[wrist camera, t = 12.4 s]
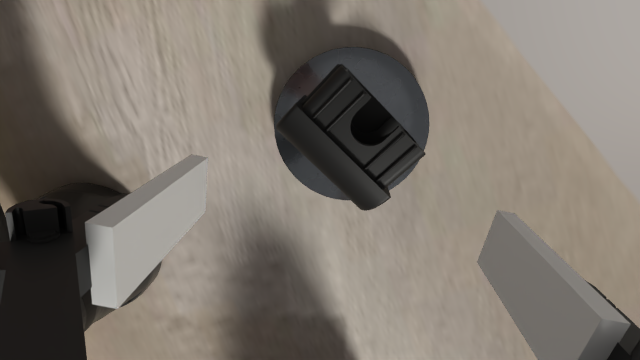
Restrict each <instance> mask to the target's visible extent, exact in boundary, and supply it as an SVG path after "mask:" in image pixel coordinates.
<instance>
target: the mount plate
mask: <svg viewBox="0 0 640 360" xmlns="http://www.w3.org/2000/svg"><path fill="white" fill-rule="evenodd" d="M337 64H343V65H344V66H345V67H346V68H348V70H349V71H350V72H351V73H352V74H353V75H354V76H355V77H356V78H357V79H358V80H359V81H360V82H361V83H362V84H363V85H364V86H365V87H366V88H367V89H368V91H369V92H370V93H371V94H372V95H373V96H374V97H375V98H376V99H377V100H378V101H379V102H380V103H381V104H382V105H383V106H384V107H385V108H386V109H387V111H388V112H389V113H390V114H391V115H392V116H393V117H394V118H395V119H396V120H397V121H398V122H399V123H400V124H401V125H402V126H403V127H404V128H405V129H406V131H407V132H408V133H409V134H410V135H411V136H412V137H413V139H414V140H415V141H416V142H417V143H418V144H419V147H420V148H421V149H422V150H423V151H424V149H425V146H426V143H427V138H428V133H429V112H428V107H427V103H426V100H425V97H424V94H423V92H422V90H421V88H420V86H419V84H418V82H417V81H416V80H415V78H414V77H413V75H412V74H411V73H410V72H409V71H408V70H407V69H406V68H405V67H404V66H403V65H402V64H400V63H399V62H398V61H396V60H395V59H393V58H391V57H390V56H388V55H386V54H383V53H381V52H378V51H375V50H371V49H367V48H359V47H345V48H339V49H334V50H331V51H328V52H324V53H322V54H320V55H318V56H316V57H314V58H312V59H311V60H309V61H308V62H306V63H305V64H304V65H303V66H301V67H300V68H299V69H298V70H297V71H296V72H295V73H294V74H293V75H292V77H291V78H290V79H289V81H288V82H287V84H286V85H285V87H284V89H283V91H282V93H281V95H280V97H279V100H278V103H277V107H276V112H275V121H274V129H275V138H276V143H277V147H278V149H279V152H280V155H281V157H282V159H283V161H284V163H285V164H286V166H287V167H288V169H289V170H290V171H291V173H292V174H293V175H294V176H295V177H296V178H297V179H298V180H299V181H300V182H301V183H302V184H304V185H305V186H307V187H308V188H309V189H311V190H313V191H315V192H317V193H319V194H321V195H324V196H326V197H330V198H334V199H340V200H350V199H349V198H348V197H347V196H346V195H345V194H344V193H343V192H342V191H341V190H340V189H339V188H338V187H337V186H336V185H334V184H333V183H332V182H331V181H330V180H329V179H328V178H327V177H326V176H325V175H324V174H323V173H322V172H321V171H320V170H319V169H318V168H317V167H316V166H314V165H313V164H312V163H311V162H310V161H309V160H308V159H307V158H306V157H305V156H304V155H303V154H302V153H301V152H300V151H299V150H298V149H297V148H296V147H294V146H293V145H292V144H291V143H290V142H289V141H288V140H287V139H286V138H285V137H284V136H283V135H282V134H281V133H280V132H279V131H278V130H277V129H276V124H277V123H278V122H279V121H280V120H281V119H282V117H283V116H284V115H285V114H286V113H287V112H288V111H289V110H290V109H291V108H292V107H293V106H294V104H295V103H296V102H298V101H299V100H300V99H301V98H302V97H303V96H304V95H306V96H308V95H309V94H310V93H311V92H312V91H313V90H314V88H315V87H316V86H317V85H318V84H319V83H320V82H321V81H322V80H323V79H324V78H325V77H326V76H327V75H328V74H329V73H330V71H331V70H332V69H333V68H334V67H335V66H336V65H337ZM419 160H420V159H419ZM419 160H418V161H417V162H416V163H415V164H414V165H412V166H411V167H410V168H409V169H408V170H407V171H405V172H404V173H403V174H402V175H401V176H400V177H398V178H397V179H396V180H395V181H394V182H393V183H391V184H390V185H389V186H388V189H389V190H390V189H392V188H393V187H395V186H396V185H398V184H399V183H400V182H402V181H403V180H404V179H405V178H406V177H407V176H408V175H409V174H410V173H411V172H412V170H413V169H414V168H415V166H416V165H417V163H418V162H419Z"/></svg>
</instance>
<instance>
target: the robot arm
mask: <svg viewBox="0 0 640 360" xmlns="http://www.w3.org/2000/svg"><path fill="white" fill-rule="evenodd" d="M207 169H208V157H202V156H197V155H190V156H188V157H187V158H185V159H184V160H182V161H180V162H179V163H177V164H176V165H174V166H173V167H171V168H169V169H168V170H166V171H165V172H163V173H162V174H160V175H158V176H157V177H155V178H154V179H152V180H151V181H149V182H147V183H146V184H144V185H143V186H141V187H140V188H138V189H137V190H135V191H133V192H132V193H130V194H129V195H128V194H119V193H117V192H115V191H113V190H111V189H108V188H106V187H103V186H99V185H94V184H87V183H76V184H69V185H65V186H62V187H60V188H58V189H55V190H53V191H51V192H49V193H47V194H45V195H43V196H41V197H39V198H38V199H36V200H29V201H25V202H22V203H18V204H16V205H14V206H12V207H10V208H9V209H8V210H7V211H6V213H5V215H6V217H5V215H4V212H3V210H2V207H1V205H0V360H87V356H86V346H85V337H84V332H85V331H86V330H87V329H88V328H89V326H90V325H91V324H93V323H94V322H96V321H98V320H99V319H101V318H103V317H104V316H106V315H107V314H109V313H110V312H112V311H114V310H115V309H118V308H119V307H122V306H124V305H127V304H128V303H130V302H132V301H134V300H135V299H136V298H138V297H139V296H140V295H141V294H142V293H143V292H144V291H145V290H146V289H147V288H148V286H149V285H150V284H151V283H152V282H153V281H154V279H155V278H156V276H157V275H158V272H159V270H160V267H161V261H162V259H163V258H164V257H165V256H166V255H167V254H168V253H169V252H170V250H171V249H172V248H173V247H174V246H175V245H176V244H177V243H178V242H179V241H180V239H181V238H182V237H183V236H184V235H185V234H186V233H187V232H188V231H189V230H190V228H191V227H192V226H193V225H194V224H195V223H196V222H197V221H198V220H199V218H200V217H201V216H202V215H203V214H204V213H205V210H206V190H207ZM477 263H478V264H479V266H480V268H481V269H482V271H483V272H484V274H485V276H486V277H487V279H488V280H489V282H490V284H491V285H492V287H493V288H494V290H495V292H496V293H497V295H498V296H499V298H500V300H501V301H502V303H503V304H504V306H505V308H506V309H507V311H508V312H509V314H510V316H511V317H512V319H513V320H514V322H515V324H516V325H517V327H518V328H519V330H520V332H521V333H522V335H523V336H524V338H525V340H526V341H527V343H528V344H529V346H530V348H531V349H532V351H533V352H534V354H535V356H536V357H537V359H538V360H640V328H638V327H637V326H636V325H635V324H634V323H633V322H632V321H631V320H630V319H629V318H628V317H627V316H626V315H625V314H624V313H622V312H621V311H620V310H619V309H618V308H616V306H615V305H614V304H613V303H612V302H611V301H610V300H608V299H606V297H605V296H604V295H603V294H602V293H601V292H600V291H599V290H598V289H597V288H596V287H595V286H593V285H592V284H590V283H589V282H587V281H586V280H584V279H583V278H582V277H581V276H580V275H579V274H578V273H577V272H576V271H575V270H574V269H572V268H571V267H570V266H569V265H568V264H567V263H566V262H565V261H564V260H563V259H562V258H561V257H560V256H559V255H558V254H557V253H556V252H555V251H554V250H553V249H551V248H550V247H549V246H548V245H547V244H546V243H545V242H544V241H543V240H542V239H541V238H540V237H539V236H538V235H537V234H536V233H535V232H534V231H533V230H531V229H530V228H529V227H528V226H527V225H526V224H525V223H524V222H523V221H522V220H521V219H520V218H519V217H518V216H517V215H516V214H515V213H510V212H505V211H499V210H497V212H496V215H495V217H494V220H493V222H492V225H491V228H490V230H489V233H488V235H487V238H486V240H485V243H484V246H483V248H482V251H481V253H480V256H479V258H478V261H477Z"/></svg>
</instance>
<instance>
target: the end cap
mask: <svg viewBox="0 0 640 360" xmlns="http://www.w3.org/2000/svg"><path fill="white" fill-rule="evenodd" d="M276 129H277V130H278V131H279V132H280V133H281V134H282V135H283V136H284V137H285V138H286V139H287V140H288V141H289V142H290V143H291V144H292V145H293V146H294V147H296V148H297V149H298V150H299V151H300V152H301V153H302V154H303V155H304V156H305V157H306V158H307V159H308V160H309V161H310V162H311V163H312V164H313V165H314V166H316V167H317V168H318V169H319V170H320V171H321V172H322V173H323V174H324V175H325V176H326V177H327V178H328V179H329V180H330V181H331V182H332V183H333V184H334V185H336V186H337V187H338V188H339V189H340V190H341V191H342V192H343V193H344V194H345V195H346V196H347V197H348V198H349V199H350V200H351V201H352V202H353V203H354V204H355V205H357V206H358V207H359V208H360V209H361V210H371V209H374V208H376V207H378V206H380V205H381V204H383V203H384V202H386V201H387V200H388V199H389V198H391V196H390V193H389V189H388V186H389V185H390V184H391V183H393V182H394V181H395V180H396V179H397V178H398V177H400V176H401V175H402V174H403V173H404V172H405V171H407V170H408V169H409V168H410V167H411V166H412V165H414V164H415V163H416V162H417V161H418V160H419V159H421V158H422V157H423V156H424V155H425V152H424V151H423V150H422V149H421V148H420V147H419V144H418V143H417V142H416V141H415V140H414V139H413V137H412V136H411V135H410V134H409V133H408V132H407V131H406V129H405V128H404V127H403V126H402V125H401V124H400V123H399V122H398V121H397V120H396V119H395V118H394V117H393V116H392V115H391V114H390V113H389V112H388V111H387V109H386V108H385V107H384V106H383V105H382V104H381V103H380V102H379V101H378V100H377V99H376V98H375V97H374V96H373V95H372V94H371V93H370V92H369V91H368V89H367V88H366V87H365V86H364V85H363V84H362V83H361V82H360V81H359V80H358V79H357V78H356V77H355V76H354V75H353V74H352V73H351V72H350V71H349V70H348V68H346V67H345V66H344V65H343V64H337V65H336V66H335V67H334V68H333V69H332V70H331V71H330V73H329V74H328V75H327V76H326V77H325V78H324V79H323V80H322V81H321V82H320V83H319V84H318V85H317V86H316V87H315V88H314V90H313V91H312V92H311V93H310V94H309V95H308V96H306V95H304V96H303V97H302V98H301V99H300V100H299V101H298V102H296V103H295V104H294V106H293V107H292V108H291V109H290V110H289V111H288V112H287V113H286V114H285V115H284V116H283V117H282V119H281V120H280V121H279V122H278V123H277V124H276Z"/></svg>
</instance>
